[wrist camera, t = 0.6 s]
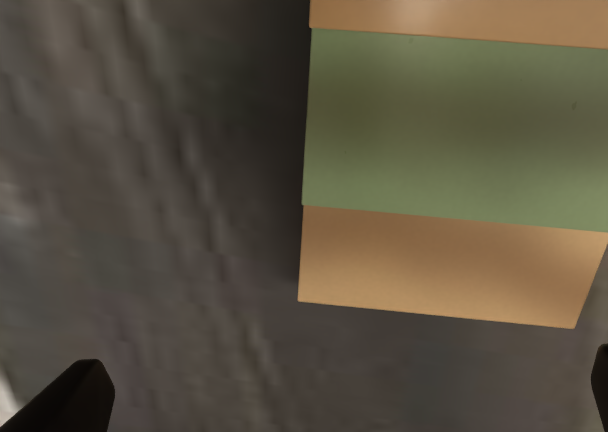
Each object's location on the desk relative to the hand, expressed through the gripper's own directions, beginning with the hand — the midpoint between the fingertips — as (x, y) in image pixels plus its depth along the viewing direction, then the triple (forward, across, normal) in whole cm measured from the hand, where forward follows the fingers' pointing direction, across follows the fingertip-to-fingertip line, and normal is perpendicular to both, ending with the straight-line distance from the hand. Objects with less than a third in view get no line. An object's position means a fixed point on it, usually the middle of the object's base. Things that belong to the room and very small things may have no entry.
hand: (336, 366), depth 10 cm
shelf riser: (+14, -5, +2) cm, 15 cm away
